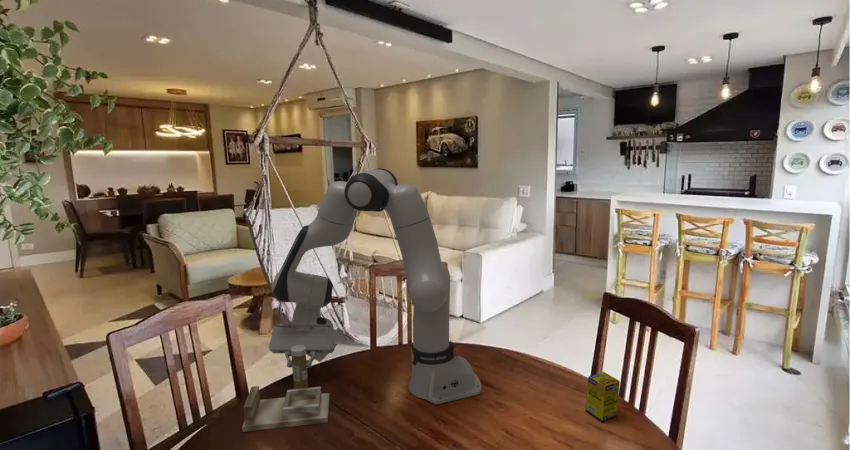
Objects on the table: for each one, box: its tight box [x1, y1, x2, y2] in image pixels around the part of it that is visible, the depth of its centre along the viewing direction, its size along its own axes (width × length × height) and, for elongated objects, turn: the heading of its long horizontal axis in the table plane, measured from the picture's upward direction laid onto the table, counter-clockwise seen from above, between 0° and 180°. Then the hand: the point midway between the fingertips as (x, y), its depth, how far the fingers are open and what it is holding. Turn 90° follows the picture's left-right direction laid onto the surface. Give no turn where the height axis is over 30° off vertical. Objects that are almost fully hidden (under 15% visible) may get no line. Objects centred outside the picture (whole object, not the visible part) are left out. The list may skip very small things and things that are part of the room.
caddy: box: [241, 385, 331, 433], centre depth 123 cm, size 22×12×6 cm, turn 100°
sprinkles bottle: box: [291, 345, 309, 389], centre depth 135 cm, size 5×5×13 cm
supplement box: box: [585, 371, 621, 423], centre depth 121 cm, size 6×6×11 cm
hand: (298, 366), depth 135 cm, fingers closed on sprinkles bottle, 4 cm apart
